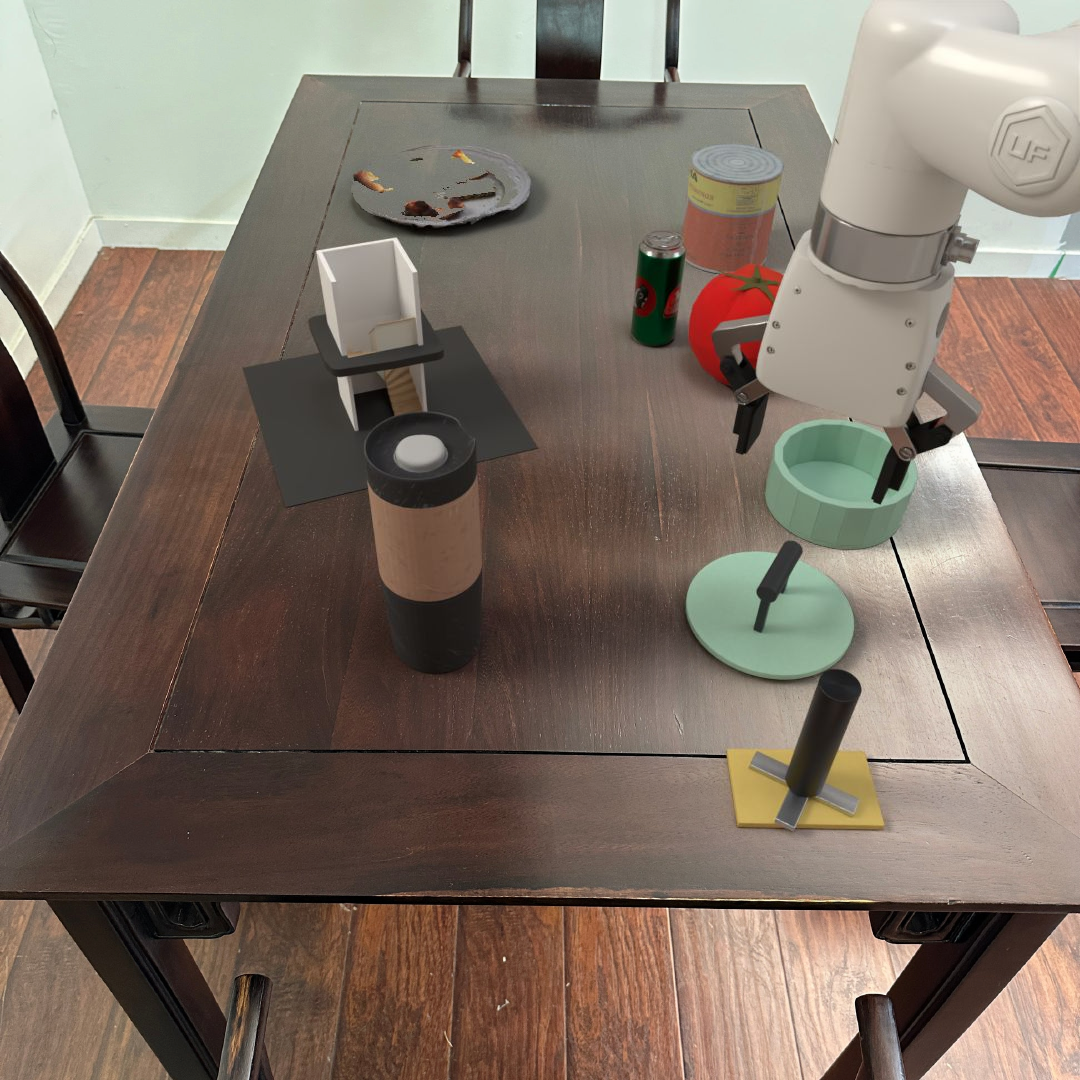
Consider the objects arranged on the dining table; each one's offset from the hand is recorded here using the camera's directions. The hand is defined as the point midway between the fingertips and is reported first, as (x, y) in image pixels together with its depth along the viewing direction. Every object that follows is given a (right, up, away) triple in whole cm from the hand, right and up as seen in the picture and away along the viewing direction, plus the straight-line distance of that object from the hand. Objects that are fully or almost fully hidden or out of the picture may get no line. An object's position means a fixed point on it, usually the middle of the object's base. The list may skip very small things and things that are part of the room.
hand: (812, 467), depth 67 cm
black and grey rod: (0, -22, +1) cm, 22 cm away
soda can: (-6, +18, +44) cm, 48 cm away
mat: (0, -23, +2) cm, 23 cm away
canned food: (+5, +32, +59) cm, 67 cm away
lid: (0, -11, +13) cm, 17 cm away
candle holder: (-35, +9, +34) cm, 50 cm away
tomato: (+3, +14, +40) cm, 42 cm away
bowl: (+9, -1, +24) cm, 25 cm away
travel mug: (-27, -13, +11) cm, 32 cm away
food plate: (-33, +43, +70) cm, 88 cm away
